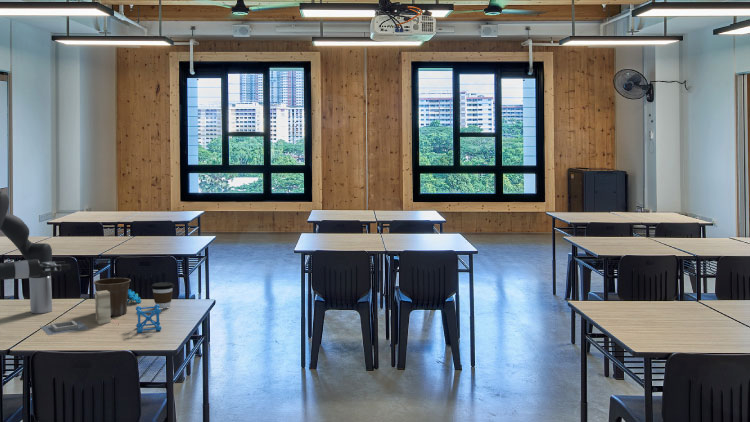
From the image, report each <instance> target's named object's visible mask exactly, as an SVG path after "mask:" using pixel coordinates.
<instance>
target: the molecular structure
mask: <svg viewBox="0 0 750 422" xmlns="http://www.w3.org/2000/svg"><path fill="white" fill-rule="evenodd" d="M159 308H160V306H159V305H158V304H157V305H155V304H154V306H143V307H142V306H140V305H137V306H136V307H135V311H136V313H135V314H136V315H137V323H136V325H135V327H136V332H137V333H138V334H140V333H142V332H144V331H151V330H152V331H155V330H156V331H157V332H161V330H162V326H161V322H160V314H161V312H162V309H159ZM145 309H148V310H145ZM149 309H153V310H149ZM143 310H145V311H143ZM148 313H150V314H149V315H147V314H148ZM141 316H142V317H144V318H145V319H144V320H142V322H141ZM154 316H156V321H155V320H153V318H152V317H154ZM148 322H150V323H148ZM147 326H148V328H144V327H147ZM149 326H155V327H152V328H151V327H150V328H149Z"/></svg>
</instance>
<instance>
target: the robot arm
mask: <svg viewBox="0 0 750 422" xmlns="http://www.w3.org/2000/svg"><path fill="white" fill-rule="evenodd" d="M9 205H10V198H9V196H8V194H7V193H5V192H4V191H0V231H1V232H2V233H3V234H4V236H6V238H8V239H9V241H11V242H12V243H13V245H14V246H15V247H16V248H17V250H18V251H19V252H20V254H21V255H22V256H23V258H24V260H17V261H7V262H0V280H3V281H6V280H16V279H17V280H19V279H20V280H21V279H28V280H29V301H30V302H29V304H30V305H29V306H30V313H31V314H45V313H50V312H52V311H53V296H52V295H53V294H52V290H53V289H52V273H57V272H58V273H59V272H61V271H66V270H71V269H72V265H71V264H70V263H67V261H65V260H64V261H53V251H52V250H53V249H52V245H50V244H49V243H41V242H40V243H38V242H37V243H34V242H31V241H30V240H29V236H30V228H29V227H28V225H27V224H26V223H25V222H24V221H23V220H22V218H20V217H18V216H17V215H14V214H12V213H10V212H8V210H9Z"/></svg>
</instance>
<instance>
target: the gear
mask: <svg viewBox="0 0 750 422" xmlns="http://www.w3.org/2000/svg"><path fill="white" fill-rule="evenodd" d="M129 302H135V303H136V304H139V303H140V304H141V303H142V300H141V297H140V296H139V294H138V293H136V292H135V291H134V290H132V289H130V288H129V289H128V299H127V304H128V303H129Z"/></svg>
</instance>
